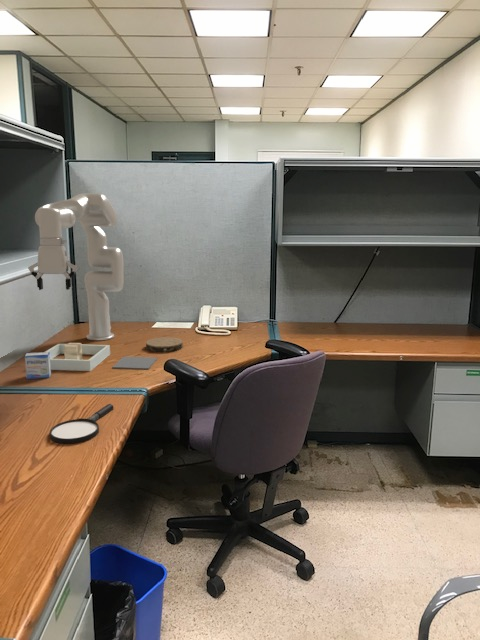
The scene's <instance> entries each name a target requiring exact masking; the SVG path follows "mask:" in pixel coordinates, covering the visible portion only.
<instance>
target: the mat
mask: <svg viewBox="0 0 480 640" xmlns="http://www.w3.org/2000/svg"><path fill="white" fill-rule="evenodd" d="M157 360H158V357H149V356H148V357H147V356H145V357H144V356H123V357H121V359H119V360H118V361H117V362H116V363H115V364H114V365H113V366H112V367H111V368H112V369H121V370H122V369H124V370H149V369H151V367H152V366H153V365H154V363H155V362H156V361H157Z"/></svg>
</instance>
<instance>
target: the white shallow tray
mask: <svg viewBox="0 0 480 640" xmlns="http://www.w3.org/2000/svg"><path fill="white" fill-rule="evenodd" d="M67 344H68V343H57V344H56V345H54V346H52V347H51V348H49V349H47V350H45V351H44V352H49V353H50V368H51V371H54V370H55V371H80V372H91V371H93V370H94V369H95V368H96V367H97V366H98V365H100V363H102V362H103V361H104V360H105V359H106V358H108V357H109V356H111V346H110V344H85V343H84V344H82V343H81V344H82V355H92V356H91V357H90V358H89V359H83V360H75V359H65V358H56V357H57V356H59V355H63V354H64V346H65V345H67ZM64 355H65V354H64Z"/></svg>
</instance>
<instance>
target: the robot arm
mask: <svg viewBox="0 0 480 640" xmlns="http://www.w3.org/2000/svg"><path fill="white" fill-rule="evenodd" d="M34 221H35V223H36V225H37V226H38V227H39V244H40V246H38V250H37V262H35V263H33V264H31V265H29V266H28V267H27V268H28V271H29V272H30V273H31V275H32V276H33V277H34V278H35V279H36V283H37V284H36V286H37V288H38V290H39V291H42V290H43V289H44V283H43V281H44V280H43V278H42V276H44V275H63V276H64V277H65V289H66V290H67V291H68V290H70V289H71V287H72V277H73V276H74V275H76V272H77V271H78V266H77V265H75V264H73V263H71V262H69V260H68V253H67V249H66V246H63V245H64V244H67V239H64V238H63V235H62V234H63V232H62V229H70V228H72V227H74V225H75V223H76V221H79V223H80V225H81V226H82V228H83V230H84V232H85V234H86V238H87V263H88V265H89V266H90V267H92V268H96V269H97V268H98V269H99V268H100V269H111V270H91V271H88V272H86V274H85V275H84V279H83V281H84V285H85V289H86V296H87V309H88V310H87V311H88V323H89V325H88V327H89V328H88V329H89V333H88V334H86V339H87V340H89V341H107V340H110V339H111V340H112V339H113V338H115V334H114V333H113V332H111V329H112V326H111V318H110V317H111V315H110V300H109V297H108V296H107V294H106V293H105V292H107V293H108V292H109V293H110V292H112V293H115V292H116V293H117V292H121V291H122V290H123V288H124V283H125V282H124V277H125V276H124V268H125V267H124V266H125V265H124V255H123V251H122V250H121V248H119V247H115V246H108V241H107V239H108V238H107V234H106V232H105V231H104V229H102V228H113V227H114V226H115V225H116V224H117V221H118V213H117V211H116V209H115V208H114V206H113V205H112V203H111V201H110V199H108V197H107V196H106V195H105V194H103V193H99V192H98V193H95V192H94V193H90V192H89V193H87V192H86V193H79V194H76V195H74V196H72V197H71V198H69V199H65V200H59V201H55V202H51V203H47V204H44V205H42V206H41V207H40V206H39V208H38V209H37V210H36V211H35V214H34ZM35 268H37V271H38V272H36V271H35ZM69 268H71V269H72V271H71V272H70V273H69Z"/></svg>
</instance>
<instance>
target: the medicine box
mask: <svg viewBox="0 0 480 640" xmlns="http://www.w3.org/2000/svg"><path fill="white" fill-rule="evenodd" d="M24 363H25V364H24V365H25V376H26V377H25V378H26V380H35V379H36V380H37V379H48V378H49V379H50V377H51V374H52V370H51V368H50V353H49V352H45V351H44V352H26V354H25V356H24Z"/></svg>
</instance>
